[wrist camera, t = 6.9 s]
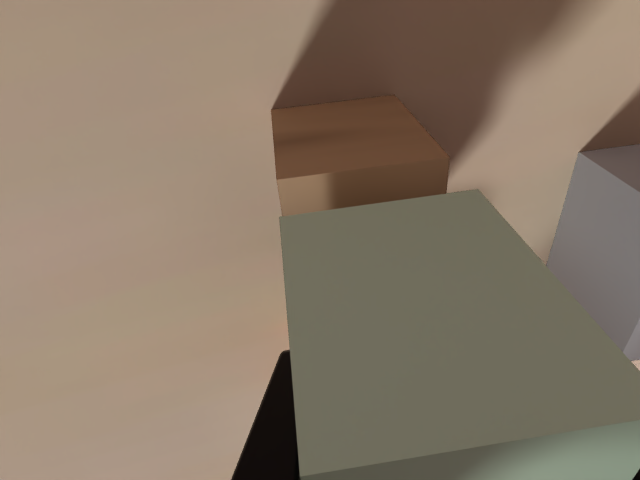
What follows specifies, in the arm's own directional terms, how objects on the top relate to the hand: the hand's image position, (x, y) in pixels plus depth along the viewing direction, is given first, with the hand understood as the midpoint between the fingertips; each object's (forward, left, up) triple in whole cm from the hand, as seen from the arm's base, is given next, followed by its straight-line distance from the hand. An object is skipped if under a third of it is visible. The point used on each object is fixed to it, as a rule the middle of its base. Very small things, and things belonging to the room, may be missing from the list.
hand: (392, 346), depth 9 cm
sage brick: (0, 0, -1) cm, 1 cm away
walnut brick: (0, 0, -8) cm, 8 cm away
